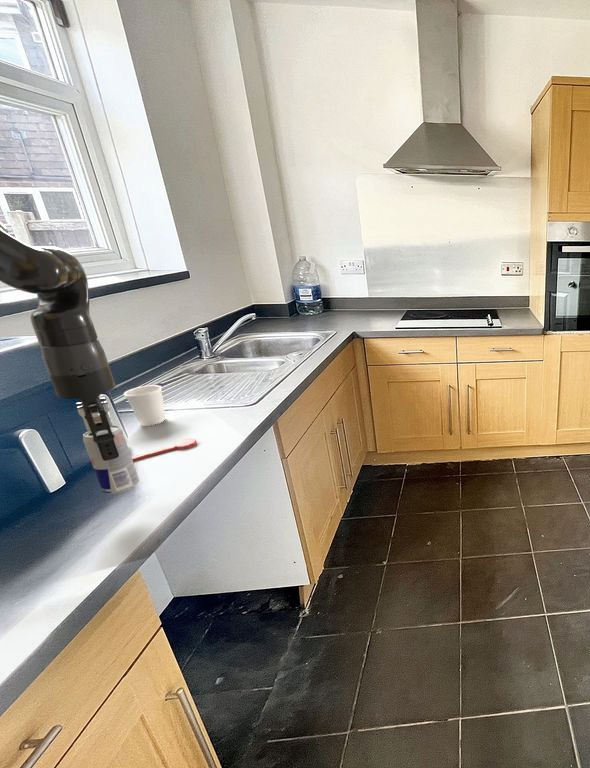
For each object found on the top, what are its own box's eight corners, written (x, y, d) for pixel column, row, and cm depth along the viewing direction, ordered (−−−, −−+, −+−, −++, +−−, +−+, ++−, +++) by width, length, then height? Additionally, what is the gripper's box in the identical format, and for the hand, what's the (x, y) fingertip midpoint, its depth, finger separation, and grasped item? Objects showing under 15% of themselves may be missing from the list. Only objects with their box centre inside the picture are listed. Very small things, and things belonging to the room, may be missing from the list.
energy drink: (108, 483, 81) (88, 428, 77) (143, 476, 84) (125, 422, 80) (98, 497, 77) (76, 440, 73) (135, 490, 79) (115, 434, 75)
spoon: (115, 468, 97) (114, 465, 96) (114, 462, 100) (112, 458, 99) (198, 445, 108) (197, 442, 107) (194, 439, 110) (193, 436, 110)
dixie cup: (176, 420, 122) (166, 388, 119) (140, 430, 116) (129, 397, 112) (164, 413, 126) (155, 383, 123) (130, 423, 120) (118, 391, 117)
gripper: (47, 363, 74) (79, 447, 80) (48, 381, 65) (84, 475, 71) (104, 355, 79) (130, 434, 85) (112, 371, 70) (141, 459, 76)
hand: (109, 452), depth 78 cm, fingers closed on energy drink, 5 cm apart
